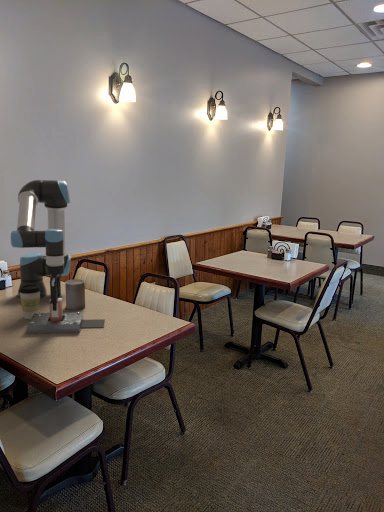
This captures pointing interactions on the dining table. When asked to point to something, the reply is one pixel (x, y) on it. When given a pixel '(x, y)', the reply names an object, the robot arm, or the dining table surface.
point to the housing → (55, 323)
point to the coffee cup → (30, 299)
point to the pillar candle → (75, 294)
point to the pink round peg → (60, 311)
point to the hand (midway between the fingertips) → (56, 314)
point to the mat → (93, 323)
